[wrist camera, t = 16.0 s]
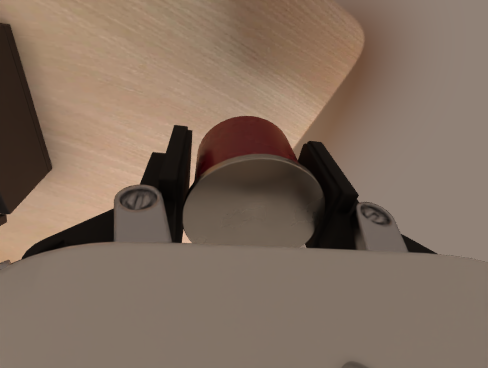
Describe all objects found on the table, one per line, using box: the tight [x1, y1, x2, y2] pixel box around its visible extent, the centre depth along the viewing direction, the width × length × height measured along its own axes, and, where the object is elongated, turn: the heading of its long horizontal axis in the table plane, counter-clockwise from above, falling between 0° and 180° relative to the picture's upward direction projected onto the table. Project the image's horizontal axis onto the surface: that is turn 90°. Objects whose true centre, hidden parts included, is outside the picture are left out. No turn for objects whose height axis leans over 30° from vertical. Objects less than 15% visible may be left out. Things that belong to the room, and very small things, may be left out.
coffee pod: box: [182, 116, 325, 248], centre depth 11 cm, size 5×5×4 cm
